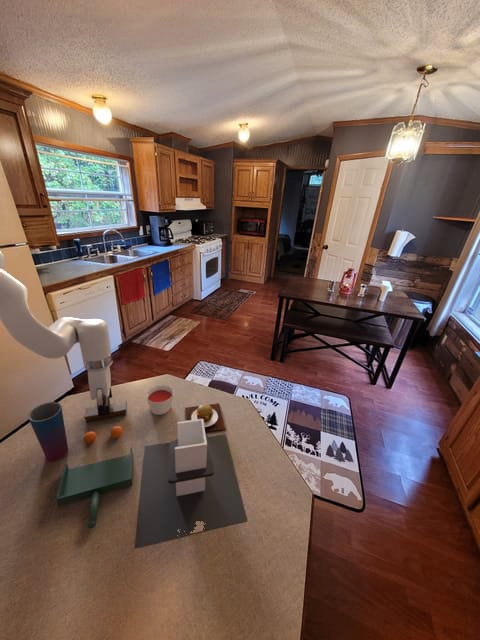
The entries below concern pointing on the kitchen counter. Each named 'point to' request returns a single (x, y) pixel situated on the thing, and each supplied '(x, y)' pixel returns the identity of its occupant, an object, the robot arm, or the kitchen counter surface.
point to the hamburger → (207, 416)
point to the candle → (160, 399)
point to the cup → (50, 430)
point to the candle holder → (187, 486)
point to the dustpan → (94, 482)
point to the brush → (115, 411)
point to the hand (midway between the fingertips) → (105, 405)
